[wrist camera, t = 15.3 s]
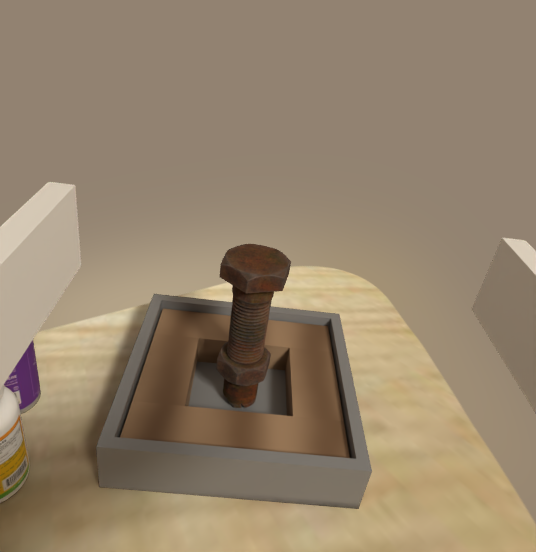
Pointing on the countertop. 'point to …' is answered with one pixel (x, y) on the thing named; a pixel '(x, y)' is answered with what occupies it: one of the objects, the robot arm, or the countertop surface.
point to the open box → (225, 460)
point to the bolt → (249, 318)
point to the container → (25, 380)
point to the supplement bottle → (11, 446)
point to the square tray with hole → (236, 424)
